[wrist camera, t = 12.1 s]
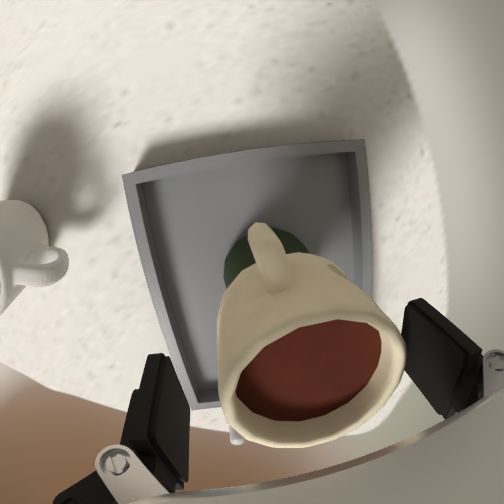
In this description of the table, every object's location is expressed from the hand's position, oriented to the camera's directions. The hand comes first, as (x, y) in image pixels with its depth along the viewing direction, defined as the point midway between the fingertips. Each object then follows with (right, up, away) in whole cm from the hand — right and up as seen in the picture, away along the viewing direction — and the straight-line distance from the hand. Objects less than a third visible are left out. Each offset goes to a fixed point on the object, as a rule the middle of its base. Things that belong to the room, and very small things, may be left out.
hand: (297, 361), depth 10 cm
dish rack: (-1, +2, +13) cm, 13 cm away
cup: (-20, +5, +10) cm, 22 cm away
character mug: (-1, +3, +11) cm, 12 cm away
